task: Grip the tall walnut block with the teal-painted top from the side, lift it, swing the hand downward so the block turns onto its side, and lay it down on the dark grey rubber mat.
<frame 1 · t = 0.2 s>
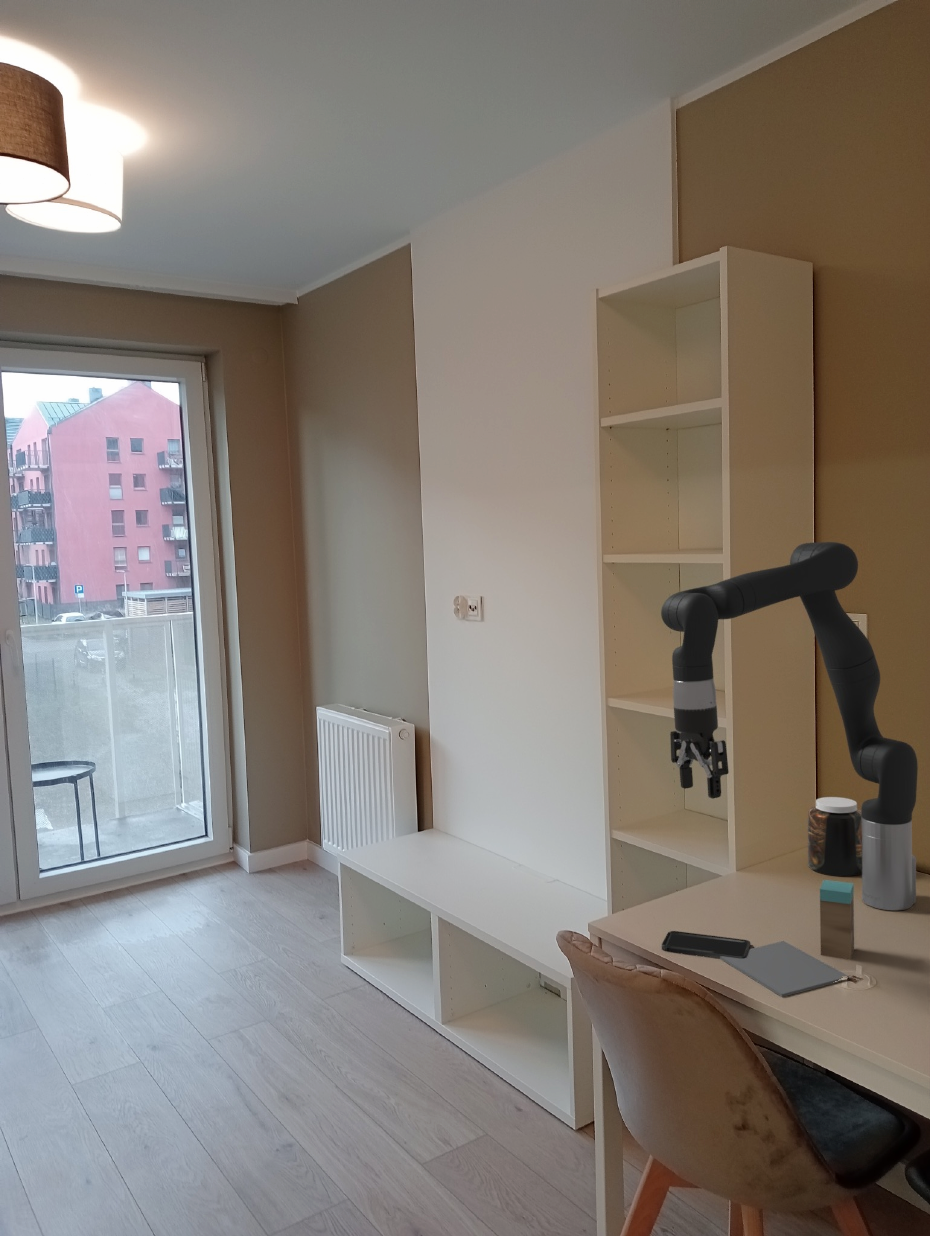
hand: (700, 792, 173), 29 cm above the table, fingers open, 8 cm apart
jar: (836, 868, 213), on the table
walnut block: (837, 951, 171), on the table
grey mat: (782, 968, 165), on the table
phone: (706, 950, 175), on the table
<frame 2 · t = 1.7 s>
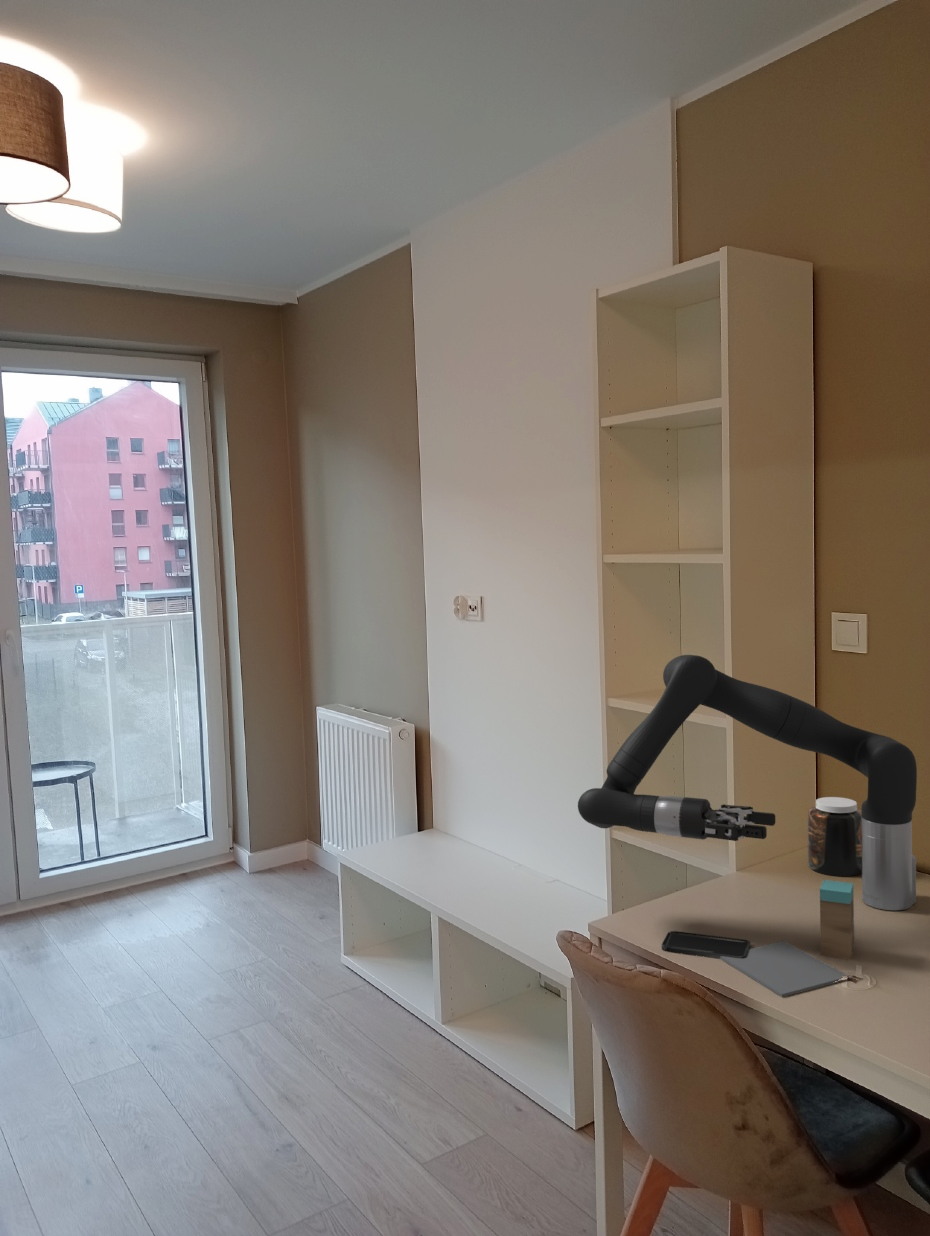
hand: (770, 826, 174), 22 cm above the table, fingers open, 8 cm apart
nothing on the table moved.
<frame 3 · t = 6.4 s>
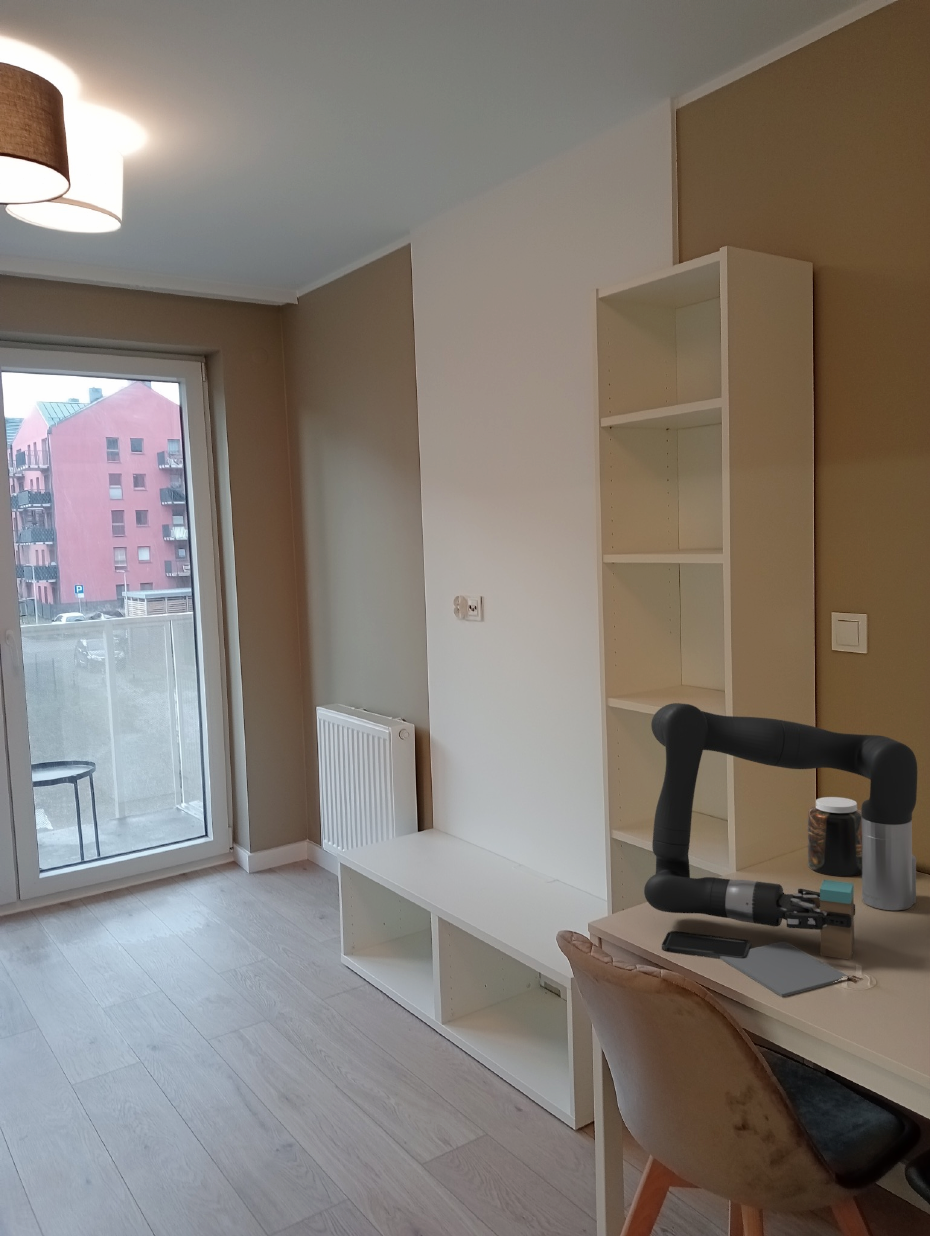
hand: (852, 915, 169), 7 cm above the table, fingers closed on walnut block, 5 cm apart
walnut block: (837, 951, 171), on the table, touching gripper
everything else where it was.
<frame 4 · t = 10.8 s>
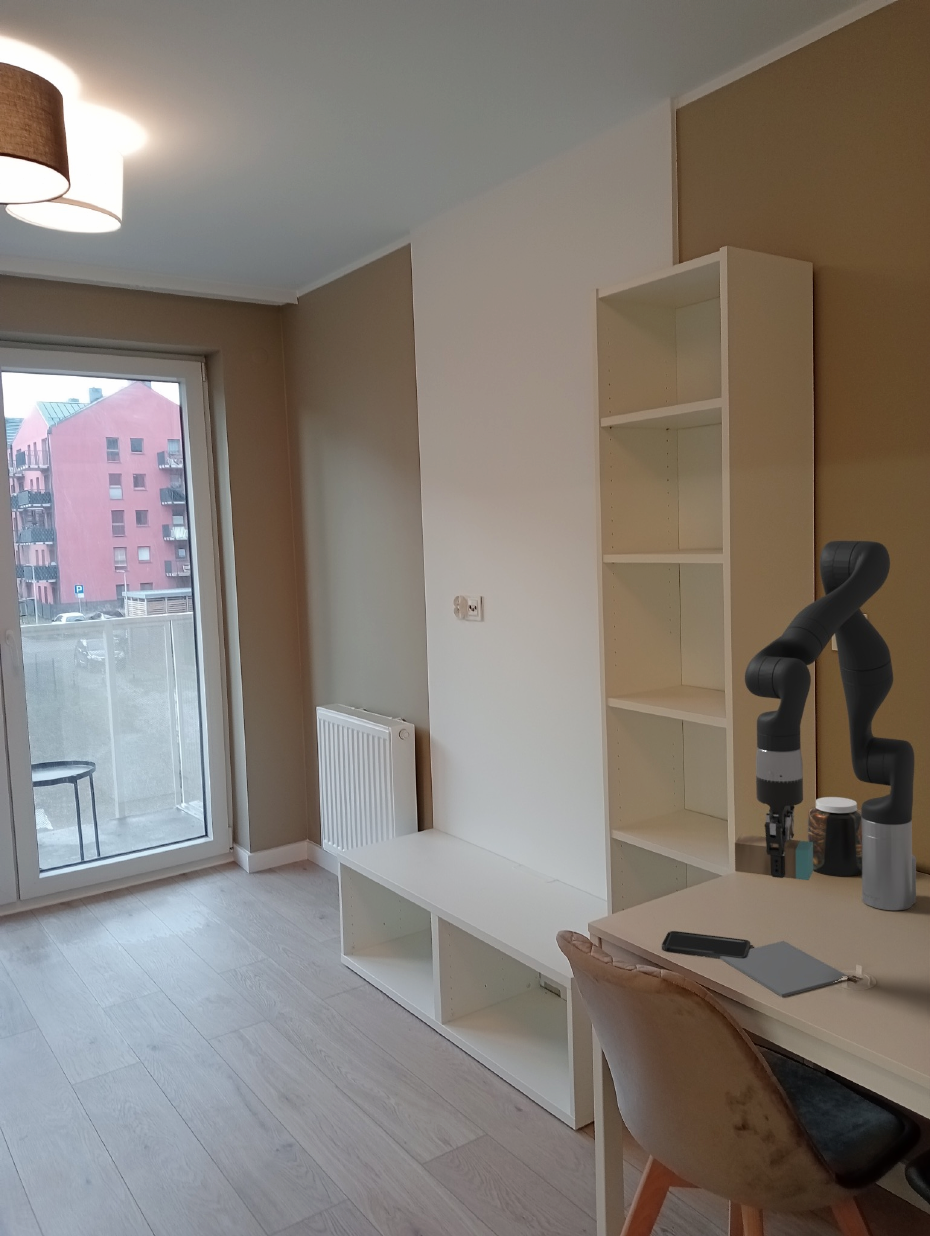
hand: (781, 871, 164), 17 cm above the table, fingers closed on walnut block, 5 cm apart
walnut block: (738, 852, 167), point 20 cm above the table, tilted 90°, touching gripper
everything else where it was.
when the fingers open (2 cm above the table, at t = 14.4 s): walnut block drops 1 cm, resting on grey mat.
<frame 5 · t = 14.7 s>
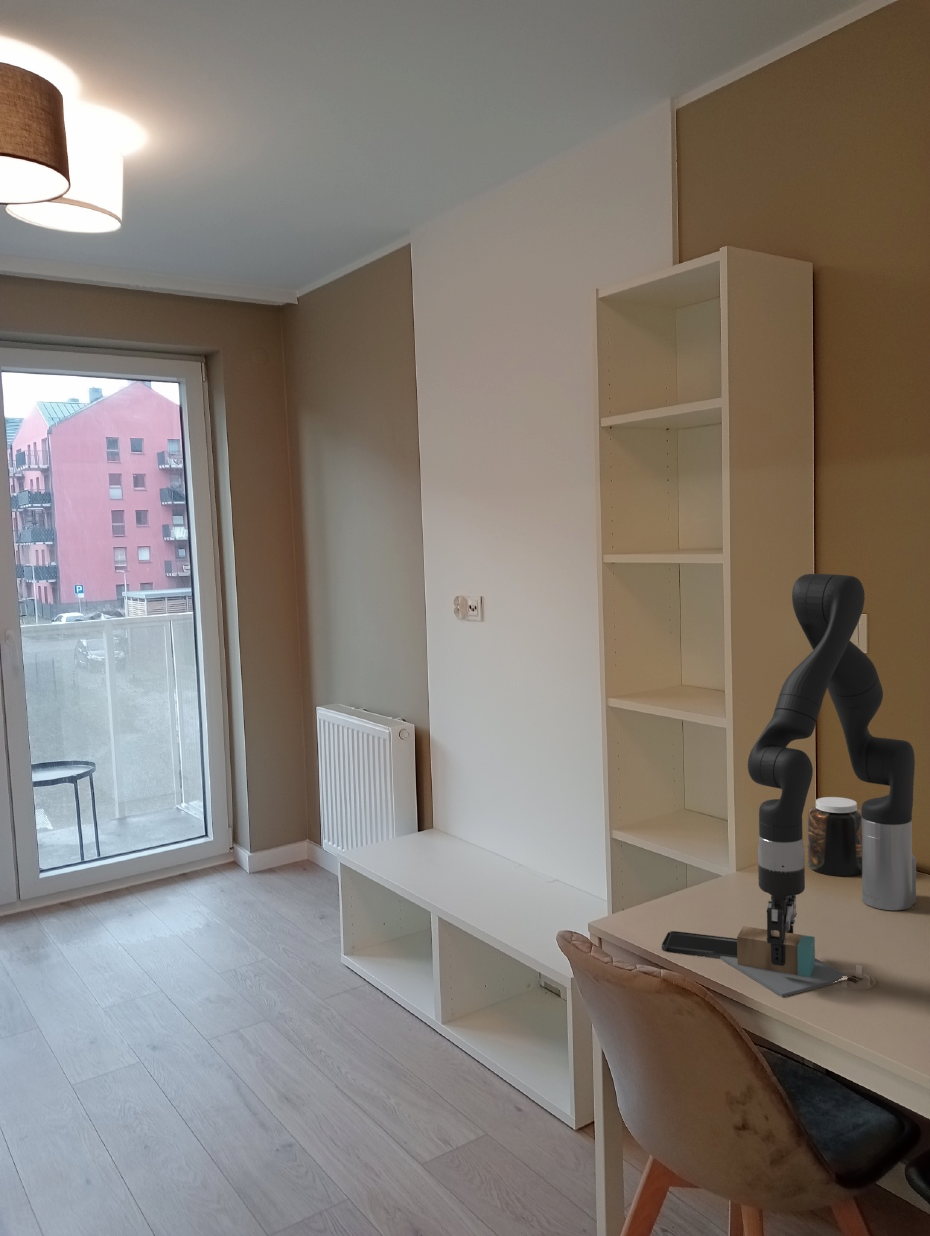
hand: (782, 954, 165), 3 cm above the table, fingers open, 8 cm apart
walnut block: (740, 945, 168), point 3 cm above the table, tilted 90°, touching grey mat
everything else where it was.
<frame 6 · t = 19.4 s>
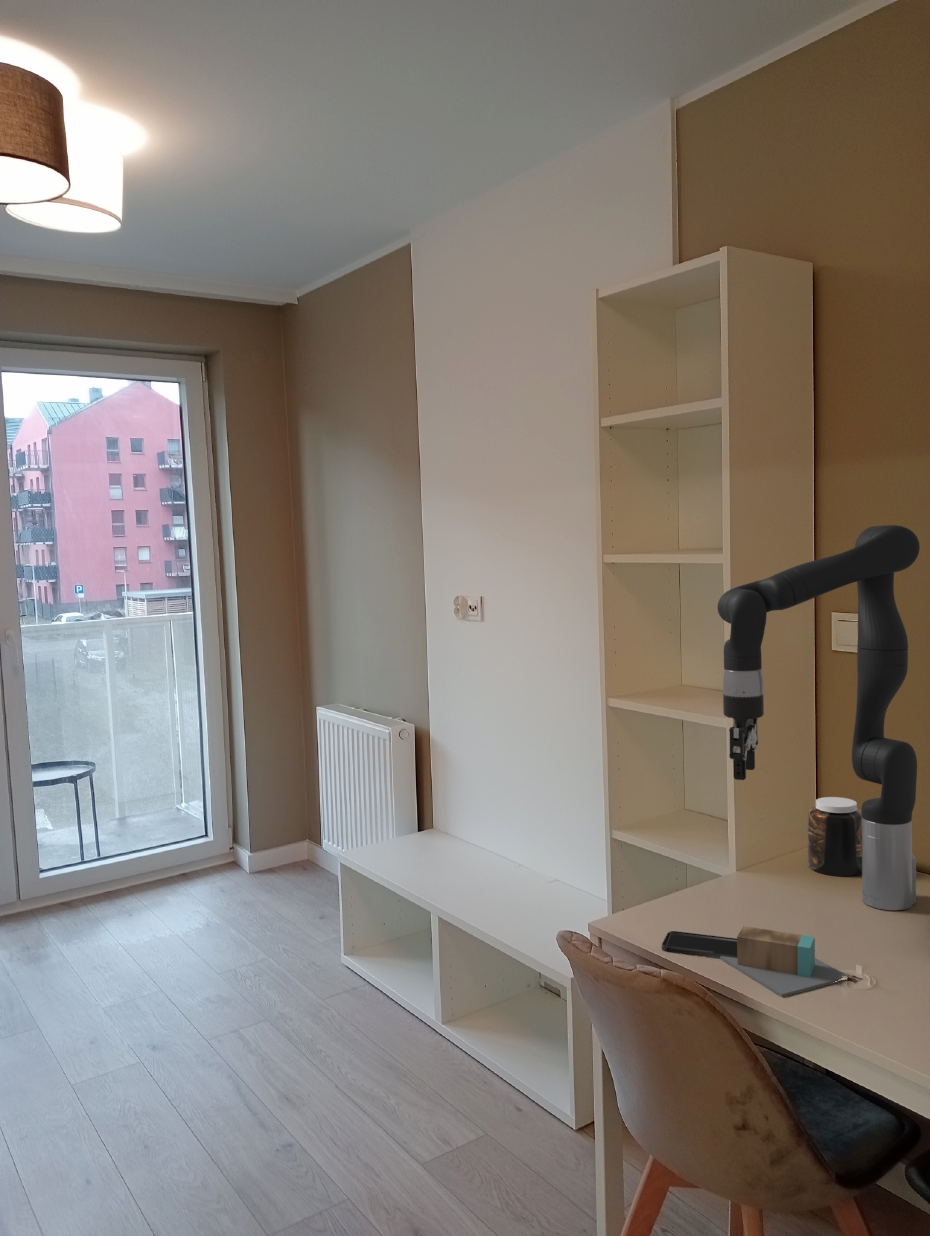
hand: (744, 774, 187), 28 cm above the table, fingers open, 8 cm apart
nothing on the table moved.
at the end: walnut block tilted 90°; walnut block inside the target area on the grey mat (7.1 cm from its centre), point 3.0 cm above the grey mat's base; the gripper is holding nothing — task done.
